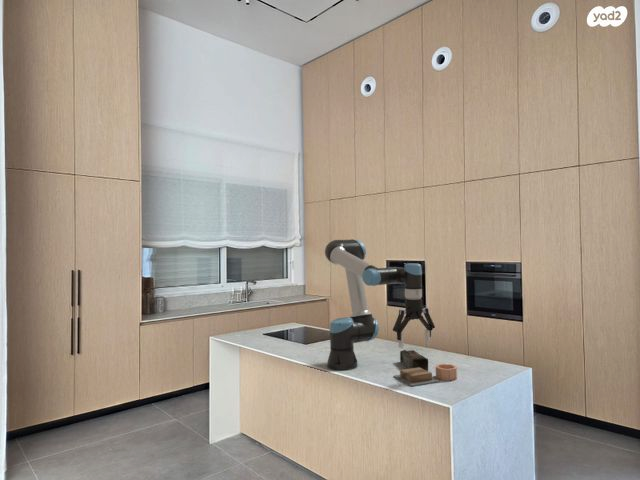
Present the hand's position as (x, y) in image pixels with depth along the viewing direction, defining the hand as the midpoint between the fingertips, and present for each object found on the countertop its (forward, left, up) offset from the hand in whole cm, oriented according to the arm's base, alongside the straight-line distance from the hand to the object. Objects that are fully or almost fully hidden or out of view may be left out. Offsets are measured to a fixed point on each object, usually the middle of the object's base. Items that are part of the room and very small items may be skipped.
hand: (414, 346), depth 189 cm
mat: (0, 0, -15) cm, 15 cm away
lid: (0, 0, -14) cm, 14 cm away
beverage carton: (-18, +11, -15) cm, 26 cm away
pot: (+3, +14, -15) cm, 21 cm away
